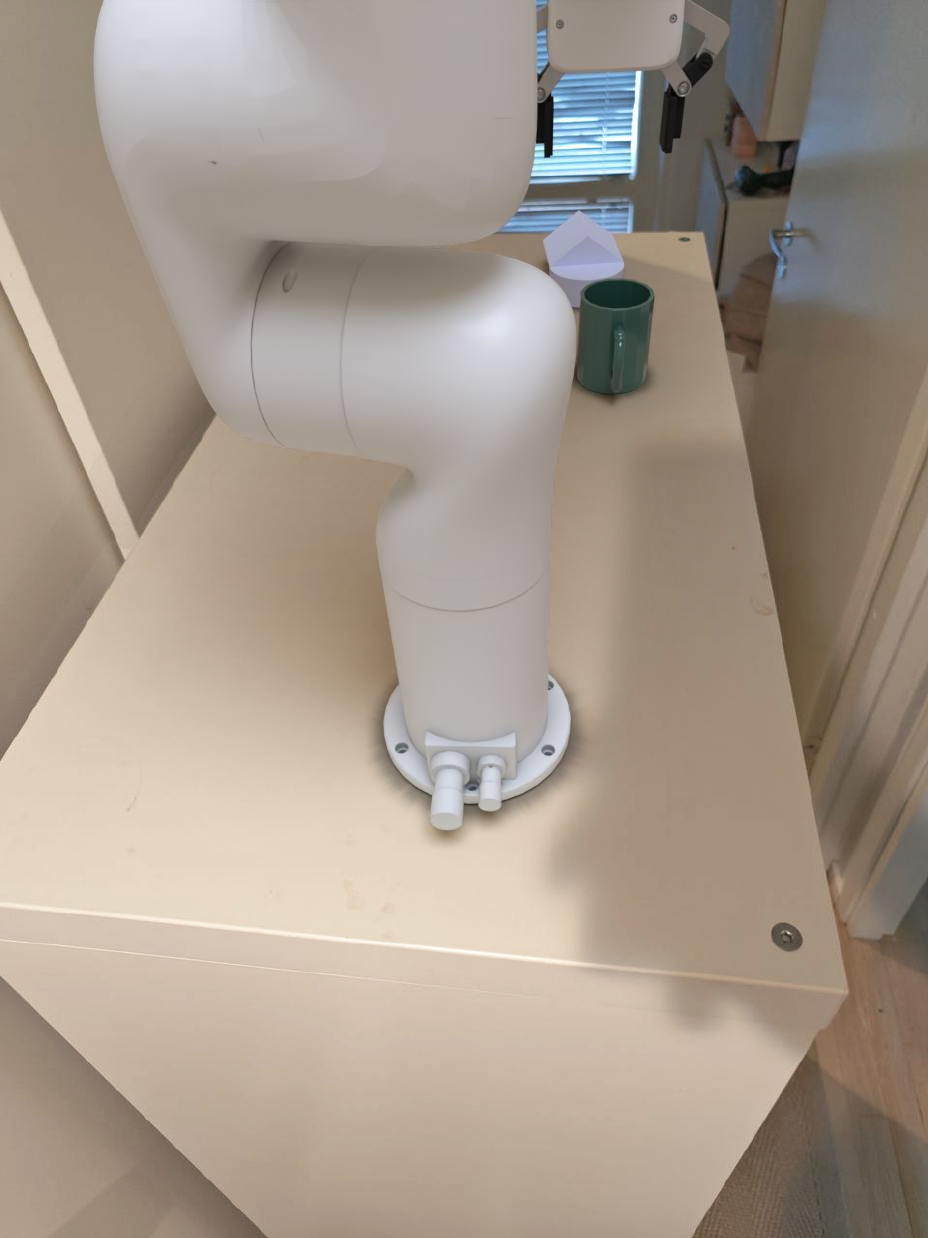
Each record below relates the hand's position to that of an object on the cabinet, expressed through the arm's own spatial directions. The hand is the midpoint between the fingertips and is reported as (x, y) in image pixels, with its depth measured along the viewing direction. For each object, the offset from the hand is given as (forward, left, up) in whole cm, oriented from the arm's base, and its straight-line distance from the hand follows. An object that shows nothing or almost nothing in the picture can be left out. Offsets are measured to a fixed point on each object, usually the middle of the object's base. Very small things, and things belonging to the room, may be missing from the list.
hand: (606, 150), depth 70 cm
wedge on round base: (+28, 0, -24) cm, 37 cm away
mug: (+3, -2, -23) cm, 24 cm away
